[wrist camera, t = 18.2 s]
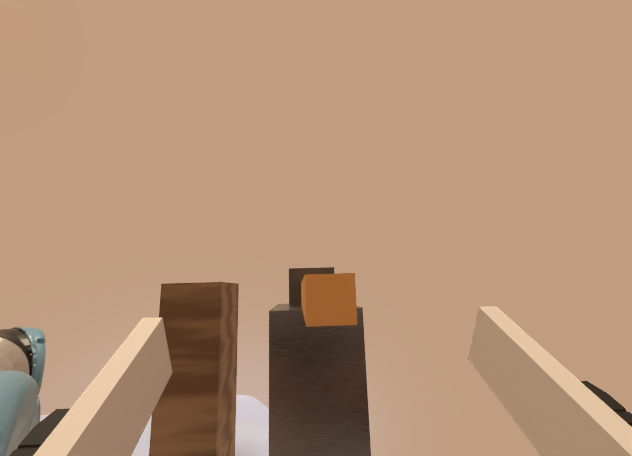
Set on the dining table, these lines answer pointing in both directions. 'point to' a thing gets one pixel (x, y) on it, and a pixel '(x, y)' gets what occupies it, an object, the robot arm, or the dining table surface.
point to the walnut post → (198, 371)
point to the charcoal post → (316, 387)
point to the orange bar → (323, 296)
